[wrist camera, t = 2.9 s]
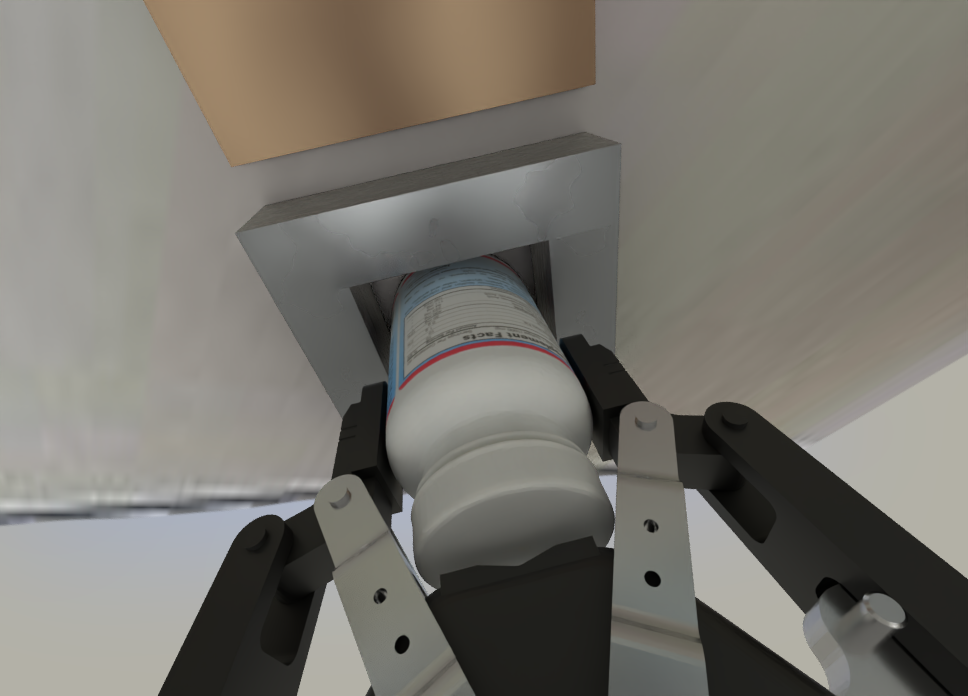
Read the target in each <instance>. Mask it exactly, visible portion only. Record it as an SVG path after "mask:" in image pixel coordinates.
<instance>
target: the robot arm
mask: <svg viewBox="0 0 968 696" xmlns="http://www.w3.org/2000/svg"><path fill="white" fill-rule="evenodd" d="M559 346H560V349H561V350H562V352H563V354H564V356H565V357H566V359H567V361H568V362H569V364H570V366H571V368H572V369H573V371H574V373H575V375H576V377H577V378H578V380H579V382H580V384H581V386H582V388H583V390H584V392H585V394H586V396H587V399H588V401H589V404H590V407H591V411H592V417H593V434H592V441H593V443H594V445H595V447H596V449H597V451H598V453H599V455H600V457H601V459H602V461H607V460H611V459H613V460H614V462H615V464H616V466H617V467H618V469H617V492H616V494H617V495H616V517H615V539H614V540H615V541H614V549H613V548H607V547H597V546H596V543H595V541H594V538H593V536H588V537H584V538H581V539H577V540H573V541H569V542H565V543H561V544H557V545H554V546H553V547H551V548H549V549H547V550H546V551H544V552H542V553H541V554H539V555H537V556H535V557H534V558H532V559H530V560H529V561H527V562H525V563H523V564H521V565H518V566H495V565H476V566H472V567H468V568H464V569H460V570H457V571H453V572H449V573H445V574H441V575H440V585H441V587H440V588H439V589H437V590H435V591H434V592H433V593H431V594H430V595H428V593H427V591H426V590H425V588H424V586H423V584H422V583H421V581H420V579H419V577H418V575H417V574H416V572H415V570H414V568H413V566H412V565H411V563H410V561H409V559H408V557H407V556H406V554H405V552H404V551H403V549H402V547H401V545H400V543H399V541H398V539H397V537H396V536H395V534H394V532H393V530H392V529H391V519H392V514H395V513H399V512H402V502H403V501H402V500H403V488H402V486H401V485H400V484H399V482H398V481H397V479H396V478H395V476H394V474H393V472H392V469H391V467H390V464H389V460H388V456H387V451H386V417H387V397H388V384H387V382H386V381H382V382H378V383H374V384H370V385H366V386H363V388H362V394H361V401H360V402H358V403H354V404H351V405H350V407H349V409H348V410H347V412H346V413H345V415H344V416H343V421H342V426H341V432H340V437H339V442H338V447H337V453H336V458H335V464H334V469H333V474H332V479H331V481H329V482H328V483H327V484H326V485H324V486H323V488H322V489H321V490H320V491H319V493H318V494H317V496H316V499H315V502H314V504H313V505H312V506H311V507H309V508H307V509H306V510H304V511H302V512H300V513H298V514H296V515H295V516H293V517H291V518H289V519H287V520H285V521H283V520H282V519H281V518H280V517H279V516H277V515H265V516H262V517H259V518H257V519H255V520H254V521H252V522H250V523H249V524H248V525H247V526H245V527H244V528H243V529H242V530H241V531H240V532H239V534H238V535H237V536H236V538H235V539H234V541H233V543H232V545H231V547H230V549H229V551H228V553H227V555H226V557H225V559H224V561H223V563H222V565H221V568H220V570H219V571H218V573H217V576H216V578H215V580H214V582H213V584H212V586H211V588H210V590H209V592H208V594H207V596H206V598H205V600H204V602H203V604H202V606H201V608H200V610H199V612H198V615H197V616H196V619H195V621H194V623H193V625H192V627H191V629H190V631H189V633H188V635H187V637H186V639H185V641H184V643H183V645H182V647H181V649H180V651H179V653H178V655H177V657H176V659H175V661H174V664H173V666H172V668H171V670H170V672H169V674H168V676H167V678H166V680H165V682H164V684H163V686H162V688H161V690H160V692H159V694H158V696H297V692H298V688H299V685H300V681H301V677H302V674H303V670H304V666H305V662H306V659H307V655H308V652H309V648H310V644H311V640H312V637H313V633H314V629H315V626H316V622H317V618H318V614H319V611H320V607H321V603H322V599H323V596H324V592H325V588H326V585H327V583H328V582H330V581H332V580H333V579H334V582H335V585H336V587H337V590H338V593H339V596H340V598H341V601H342V604H343V607H344V610H345V612H346V615H347V618H348V621H349V624H350V626H351V629H352V632H353V635H354V637H355V640H356V643H357V646H358V648H359V651H360V654H361V657H362V660H363V662H364V665H365V668H366V671H367V674H368V676H369V679H370V682H371V687H370V688H369V690H368V692H367V694H366V696H968V579H967V578H965V577H964V576H963V575H962V574H961V573H959V572H958V571H957V570H956V569H954V568H953V567H952V566H950V565H949V564H948V563H947V562H945V561H944V560H943V559H942V558H940V557H939V556H938V555H937V554H935V553H934V552H933V551H931V550H930V549H929V548H928V547H926V546H925V545H924V544H923V543H921V542H920V541H919V540H918V539H916V538H915V537H914V536H912V535H911V534H910V533H909V532H907V531H906V530H905V529H904V528H902V527H901V526H900V525H898V524H897V523H896V522H895V521H893V520H892V519H891V518H890V517H888V516H887V515H886V514H885V513H883V512H882V511H881V510H880V509H878V508H877V507H876V506H874V505H873V504H872V503H871V502H869V501H868V500H867V499H866V498H864V497H863V496H862V495H861V494H859V493H858V492H857V491H856V490H854V489H853V488H852V487H850V486H849V485H848V484H847V483H845V482H844V481H843V480H841V479H840V478H839V477H838V476H836V475H835V474H834V473H833V472H831V471H830V470H829V469H827V468H826V467H825V466H824V465H823V464H821V463H820V462H819V461H817V460H816V459H815V458H814V457H813V456H811V455H810V454H809V453H807V452H806V451H805V450H804V449H802V448H801V447H800V446H799V445H797V444H796V443H795V442H794V441H792V440H791V439H790V438H788V437H787V436H786V435H785V434H783V433H782V432H781V431H780V430H778V429H777V428H776V427H775V426H773V425H772V424H771V423H769V422H768V421H767V420H766V419H764V418H763V417H762V416H761V415H759V414H758V413H757V412H755V411H754V410H753V409H751V408H749V407H747V406H744V405H742V404H738V403H733V402H720V403H716V404H713V405H711V406H710V407H708V409H707V410H706V412H705V415H704V416H690V415H674V414H670V413H669V412H668V411H667V410H666V409H665V408H663V407H662V406H660V405H658V404H655V403H652V402H649V401H648V400H647V398H646V397H645V396H644V394H643V393H642V392H641V390H640V389H639V388H638V386H637V385H636V383H635V382H634V381H633V379H632V378H631V377H630V375H629V374H628V373H627V371H625V369H624V367H623V366H622V364H621V363H619V360H618V359H617V358H616V356H615V355H614V354H613V352H612V351H611V350H609V349H607V348H605V347H604V346H602V345H600V344H597V345H593V346H590V345H589V344H588V342H587V341H586V339H585V338H584V336H583V335H582V334H577V335H573V336H568V337H564V338H560V340H559ZM684 488H688V489H697V491H698V492H699V493H700V494H701V495H702V496H703V498H704V499H705V500H706V501H707V502H708V503H709V504H710V506H711V507H712V508H713V509H714V510H715V511H716V512H717V514H718V515H719V516H720V517H721V518H722V519H723V520H724V522H725V523H726V524H727V525H728V526H729V527H730V528H731V529H732V531H733V532H734V533H735V534H736V535H737V536H738V538H739V539H740V540H741V541H742V542H743V543H744V545H745V546H746V547H747V548H748V549H749V550H750V551H751V552H752V554H753V555H754V556H755V557H756V558H757V559H758V561H759V562H760V563H761V564H762V565H763V566H764V567H765V569H766V570H767V571H768V572H769V573H770V574H771V575H772V577H773V578H774V579H775V580H776V581H777V582H778V583H779V585H780V586H781V587H782V588H783V589H784V590H785V592H786V593H787V594H788V595H789V596H790V597H791V598H792V599H793V601H794V602H795V603H796V604H797V605H798V606H799V608H800V609H801V610H802V611H803V612H804V613H805V614H806V615H805V617H804V621H803V631H804V635H805V638H806V641H807V643H808V645H809V647H810V649H811V650H812V652H813V653H814V654H815V656H816V657H817V658H818V660H819V662H820V663H821V665H822V667H823V669H824V671H825V673H826V676H827V679H828V684H829V690H827V689H826V688H825V687H823V686H822V685H820V684H819V683H818V682H816V681H815V680H813V679H812V678H810V677H809V676H807V675H806V674H805V673H803V672H802V671H800V670H799V669H798V668H796V667H795V666H793V665H792V664H790V663H789V662H787V661H786V660H784V659H783V658H782V657H780V656H779V655H777V654H776V653H775V652H773V651H772V650H770V649H769V648H767V647H766V646H765V645H763V644H762V643H760V642H759V641H757V640H756V639H754V638H753V637H752V636H750V635H749V634H747V633H746V632H745V631H743V630H742V629H740V628H739V627H738V626H736V625H735V624H733V623H732V622H730V621H729V620H728V619H726V618H725V617H723V616H722V615H720V614H719V613H717V612H716V611H714V610H713V609H712V608H710V607H709V606H708V605H706V604H705V603H703V602H702V601H700V600H699V599H698V598H696V597H695V591H694V582H693V572H692V563H691V552H690V543H689V533H688V524H687V513H686V503H685V494H684Z"/></svg>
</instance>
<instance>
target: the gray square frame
mask: <svg viewBox="0 0 968 696" xmlns="http://www.w3.org/2000/svg"><path fill="white" fill-rule="evenodd" d="M620 170H621V143H618V142H615V141H611V140H608V139H605V138H602V137H599V136H596V135H593V134H590V133H587V132H583V133H579V134H574V135H570V136H565V137H561V138H557V139H552V140H548V141H544V142H539V143H535V144H531V145H526V146H522V147H518V148H513V149H509V150H505V151H500V152H496V153H492V154H487V155H483V156H479V157H474V158H470V159H466V160H461V161H457V162H453V163H448V164H444V165H440V166H435V167H431V168H427V169H422V170H418V171H414V172H409V173H405V174H401V175H396V176H392V177H388V178H383V179H379V180H375V181H370V182H366V183H362V184H357V185H353V186H349V187H344V188H340V189H336V190H331V191H327V192H323V193H318V194H314V195H310V196H305V197H301V198H296V199H292V200H288V201H283V202H279V203H275V204H270V205H266V206H264V207H263V208H262V209H261V210H260V211H259V212H258V213H256V214H255V215H254V216H253V217H252V218H251V219H250V220H249V221H248V222H247V223H246V224H245V225H243V226H242V227H241V228H240V229H239V230H238V231H237V232H236V233H235V234H236V236H237V238H238V239H239V241H240V243H241V244H242V246H243V248H244V250H245V251H246V253H247V255H248V257H249V258H250V260H251V262H252V263H253V265H254V267H255V269H256V270H257V272H258V274H259V276H260V277H261V279H262V281H263V282H264V284H265V286H266V288H267V289H268V291H269V293H270V295H271V296H272V298H273V300H274V302H275V303H276V305H277V307H278V308H279V310H280V312H281V314H282V315H283V317H284V319H285V321H286V322H287V324H288V326H289V327H290V329H291V331H292V333H293V334H294V336H295V338H296V340H297V341H298V343H299V345H300V346H301V348H302V350H303V352H304V353H305V355H306V357H307V359H308V360H309V362H310V364H311V365H312V367H313V369H314V371H315V372H316V374H317V376H318V378H319V379H320V381H321V383H322V384H323V386H324V388H325V390H326V391H327V393H328V395H329V397H330V398H331V400H332V402H333V403H334V405H335V407H336V409H337V410H338V412H339V414H340V416H341V417H342V419H343V416H344V415H345V413H346V412H347V410H348V409H349V407H350V405H351V404H354V403H358V402H360V401H361V394H362V388H363V386H366V385H370V384H374V383H378V382H382V381H386V382H387V384H388V376H389V358H390V343H391V336H390V334H389V331H388V328H387V326H386V323H385V321H384V318H383V316H382V313H381V311H380V308H379V306H378V303H377V301H376V298H375V296H374V293H373V291H372V288H371V286H370V283H369V282H374V281H378V280H382V279H386V278H391V277H395V276H399V275H403V274H407V273H412V272H416V271H420V270H424V269H429V268H433V267H437V266H441V265H445V264H450V263H454V262H458V261H462V260H466V259H471V258H475V257H479V256H483V255H488V254H492V253H496V252H500V251H504V250H509V249H513V248H517V247H521V246H526V245H530V246H531V255H532V264H533V273H534V282H535V291H536V299H537V308H538V310H539V311H540V313H541V315H542V317H543V319H544V320H545V322H546V324H547V326H548V328H549V329H550V331H551V333H552V334H553V336H554V338H555V340H556V342H557V343H558V345H559V340H560V338H564V337H568V336H573V335H577V334H582V335H583V336H584V338H585V339H586V341H587V342H588V344H589V345H590V346H593V345H597V344H600V345H602V346H604V347H605V348H607V349H609V350H611V351H612V352H613V354H614V355H615V334H616V301H617V268H618V235H619V203H620ZM559 347H560V346H559Z"/></svg>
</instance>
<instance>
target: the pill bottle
mask: <svg viewBox="0 0 968 696" xmlns="http://www.w3.org/2000/svg"><path fill="white" fill-rule="evenodd" d="M592 434H593V417H592V411H591V407H590V404H589V401H588V399H587V396H586V394H585V392H584V390H583V388H582V386H581V384H580V382H579V380H578V378H577V377H576V375H575V373H574V371H573V369H572V368H571V366H570V364H569V362H568V361H567V359H566V357H565V356H564V354H563V352H562V350H561V349H560V347H559V345H558V343H557V342H556V340H555V338H554V336H553V334H552V333H551V331H550V329H549V328H548V326H547V324H546V322H545V320H544V319H543V317H542V315H541V313H540V311H539V310H538V308H537V306H536V304H535V303H534V301H533V299H532V297H531V295H530V294H529V292H528V290H527V288H526V286H525V285H524V283H523V281H522V280H521V279H520V277H519V276H518V274H517V273H516V272H515V271H514V270H513V269H512V268H511V267H510V266H509V265H507V264H506V263H504V262H503V261H501V260H500V259H498V258H496V257H494V256H491V255H489V254H488V255H483V256H479V257H475V258H471V259H466V260H462V261H458V262H454V263H450V264H445V265H441V266H437V267H433V268H429V269H424V270H420V271H416V272H412V273H408V274H407V275H406V276H405V278H404V279H403V281H402V282H401V284H400V286H399V288H398V290H397V292H396V295H395V298H394V302H393V309H392V324H391V343H390V358H389V376H388V397H387V417H386V451H387V456H388V460H389V464H390V467H391V469H392V472H393V474H394V476H395V478H396V479H397V481H398V482H399V484H400V485H401V486H402V488H403V489H404V490H405V491H406V492H407V493H408V494H409V495H410V496H411V497H412V498H413V499H415V500H414V503H413V506H412V511H411V521H412V526H413V551H414V560H415V564H416V567H417V570H418V572H419V574H420V575H421V577H422V578H423V579H424V581H426V582H427V583H428V584H429V585H431V586H432V587H434V588H435V589H439V588H440V587H441V585H440V575H441V574H445V573H449V572H453V571H457V570H460V569H464V568H468V567H472V566H476V565H495V566H518V565H521V564H523V563H525V562H527V561H529V560H530V559H532V558H534V557H535V556H537V555H539V554H541V553H542V552H544V551H546V550H547V549H549V548H551V547H553V546H554V545H557V544H561V543H565V542H569V541H573V540H577V539H581V538H584V537H588V536H593V538H594V541H595V543H596V546H597V547H606V545H607V544H608V542H609V540H610V538H611V536H612V533H613V530H614V524H615V516H614V511H613V508H612V505H611V503H610V501H609V499H608V496H607V494H606V492H605V490H604V488H603V486H602V484H601V482H600V479H599V475H598V472H597V470H596V468H595V466H594V465H593V463H592V462H591V461H590V460H589V459H588V458H587V457H586V456H587V454H588V451H589V448H590V445H591V441H592Z"/></svg>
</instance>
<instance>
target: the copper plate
mask: <svg viewBox="0 0 968 696" xmlns="http://www.w3.org/2000/svg"><path fill="white" fill-rule="evenodd" d="M143 1H144V3H145V5H146V6H147V8H148V10H149V12H150V14H151V16H152V18H153V20H154V22H155V24H156V25H157V27H158V29H159V31H160V33H161V35H162V37H163V39H164V41H165V42H166V44H167V46H168V48H169V50H170V52H171V54H172V56H173V58H174V59H175V61H176V63H177V65H178V67H179V69H180V71H181V73H182V75H183V76H184V78H185V80H186V82H187V84H188V86H189V88H190V90H191V92H192V93H193V95H194V97H195V99H196V101H197V103H198V105H199V107H200V109H201V111H202V112H203V114H204V116H205V118H206V120H207V122H208V124H209V126H210V128H211V129H212V131H213V133H214V135H215V137H216V139H217V141H218V143H219V145H220V146H221V148H222V150H223V152H224V154H225V156H226V158H227V160H228V162H229V163H230V165H231V167H234V166H238V165H242V164H247V163H251V162H256V161H260V160H264V159H269V158H273V157H278V156H282V155H286V154H291V153H295V152H299V151H304V150H308V149H313V148H317V147H321V146H326V145H330V144H335V143H339V142H343V141H348V140H352V139H357V138H361V137H365V136H370V135H374V134H379V133H383V132H387V131H392V130H396V129H401V128H405V127H409V126H414V125H418V124H423V123H427V122H431V121H436V120H440V119H445V118H449V117H453V116H458V115H462V114H467V113H471V112H475V111H480V110H484V109H489V108H493V107H497V106H502V105H506V104H511V103H515V102H519V101H524V100H528V99H533V98H537V97H541V96H546V95H550V94H554V93H559V92H563V91H568V90H572V89H576V88H581V87H585V86H590V85H594V84H595V0H143Z"/></svg>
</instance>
